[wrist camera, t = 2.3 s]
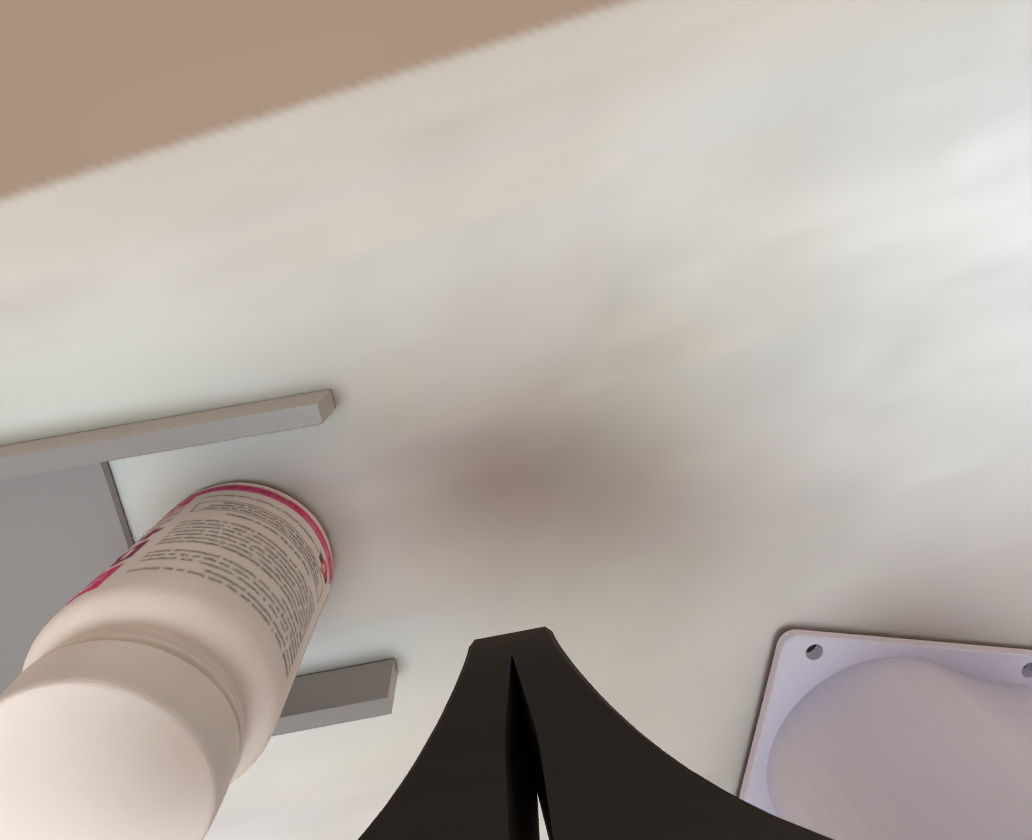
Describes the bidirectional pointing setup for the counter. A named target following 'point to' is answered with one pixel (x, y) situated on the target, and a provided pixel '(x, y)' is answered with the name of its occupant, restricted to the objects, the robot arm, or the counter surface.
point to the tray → (105, 537)
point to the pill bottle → (164, 673)
